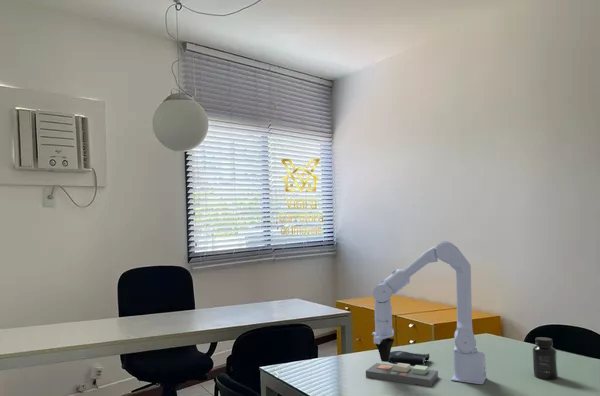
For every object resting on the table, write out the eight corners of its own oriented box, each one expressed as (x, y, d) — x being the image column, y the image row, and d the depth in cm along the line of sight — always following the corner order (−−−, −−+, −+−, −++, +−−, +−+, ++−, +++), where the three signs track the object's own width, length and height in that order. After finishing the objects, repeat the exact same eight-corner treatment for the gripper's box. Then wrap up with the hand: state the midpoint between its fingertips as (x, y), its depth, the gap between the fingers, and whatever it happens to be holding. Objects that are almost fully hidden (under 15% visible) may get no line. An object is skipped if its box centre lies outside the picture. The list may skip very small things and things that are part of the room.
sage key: (428, 371, 154) (428, 366, 154) (425, 375, 150) (424, 369, 150) (416, 369, 156) (416, 364, 156) (412, 373, 152) (412, 368, 152)
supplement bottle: (562, 378, 150) (560, 339, 151) (546, 381, 148) (544, 342, 149) (545, 372, 157) (543, 335, 157) (529, 375, 154) (527, 337, 155)
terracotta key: (392, 370, 160) (392, 365, 160) (388, 374, 156) (388, 369, 156) (381, 369, 162) (381, 364, 162) (377, 372, 158) (377, 367, 158)
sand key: (410, 369, 157) (410, 364, 157) (406, 372, 153) (406, 367, 153) (398, 367, 159) (398, 362, 159) (394, 370, 155) (394, 365, 155)
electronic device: (430, 364, 174) (390, 354, 181) (431, 350, 174) (391, 340, 180) (423, 375, 166) (382, 364, 173) (425, 360, 165) (383, 349, 172)
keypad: (438, 377, 154) (437, 370, 154) (430, 386, 146) (429, 379, 146) (376, 368, 165) (376, 362, 165) (365, 377, 156) (365, 370, 156)
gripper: (379, 315, 168) (381, 354, 167) (364, 323, 156) (365, 365, 155) (399, 316, 165) (400, 356, 164) (384, 324, 152) (386, 368, 151)
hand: (385, 361), depth 159 cm, fingers closed
